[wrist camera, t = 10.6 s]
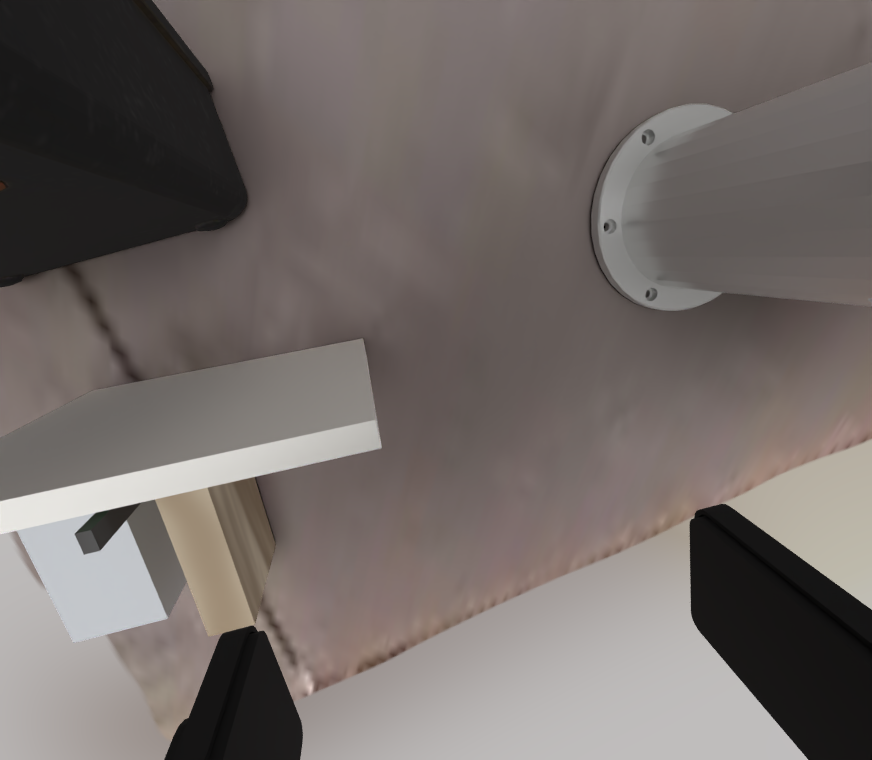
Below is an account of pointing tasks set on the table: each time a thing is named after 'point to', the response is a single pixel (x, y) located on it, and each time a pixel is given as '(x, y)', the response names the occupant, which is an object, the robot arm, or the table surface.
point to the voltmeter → (103, 134)
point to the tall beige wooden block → (209, 548)
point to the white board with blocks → (168, 468)
